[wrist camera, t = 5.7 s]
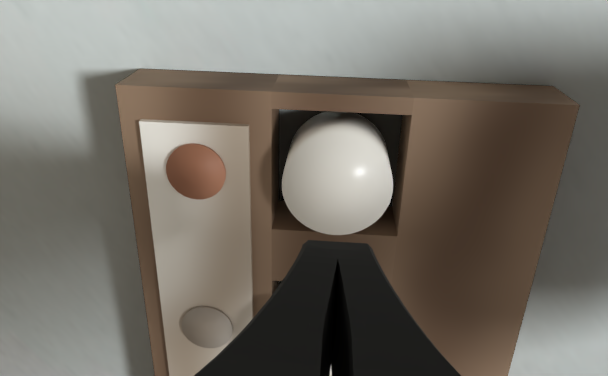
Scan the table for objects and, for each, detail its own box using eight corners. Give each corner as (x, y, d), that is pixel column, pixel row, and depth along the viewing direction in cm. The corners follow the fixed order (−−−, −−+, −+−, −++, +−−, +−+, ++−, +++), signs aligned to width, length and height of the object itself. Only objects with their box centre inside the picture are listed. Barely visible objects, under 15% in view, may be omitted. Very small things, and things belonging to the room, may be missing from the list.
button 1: (392, 112, 16) (399, 137, 14) (382, 203, 18) (387, 238, 16) (289, 108, 16) (282, 132, 14) (288, 198, 18) (281, 231, 16)
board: (553, 86, 16) (584, 108, 14) (464, 456, 24) (476, 506, 21) (139, 68, 17) (110, 88, 15) (181, 433, 24) (166, 480, 22)
